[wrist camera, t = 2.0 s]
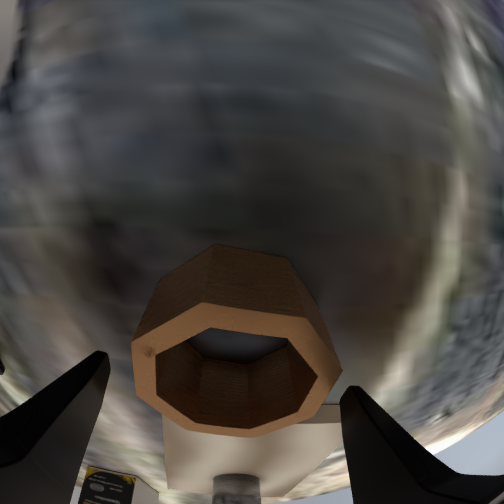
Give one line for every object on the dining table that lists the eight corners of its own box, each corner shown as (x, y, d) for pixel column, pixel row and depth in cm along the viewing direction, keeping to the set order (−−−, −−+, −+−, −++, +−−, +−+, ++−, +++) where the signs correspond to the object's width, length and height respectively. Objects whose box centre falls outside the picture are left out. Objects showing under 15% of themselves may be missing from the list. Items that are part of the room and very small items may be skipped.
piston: (210, 484, 19) (209, 520, 15) (215, 471, 17) (214, 513, 14) (254, 487, 19) (255, 522, 16) (264, 474, 18) (267, 514, 14)
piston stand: (169, 476, 21) (167, 488, 20) (166, 389, 15) (161, 409, 13) (281, 485, 23) (282, 496, 21) (354, 404, 16) (360, 421, 15)
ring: (157, 359, 14) (140, 420, 10) (163, 235, 11) (128, 287, 7) (287, 378, 14) (297, 439, 11) (332, 265, 12) (367, 324, 8)
